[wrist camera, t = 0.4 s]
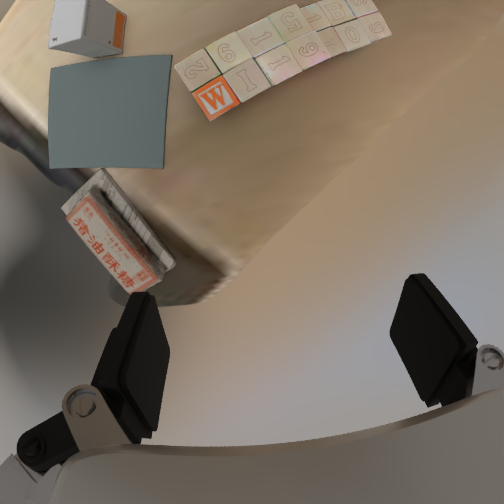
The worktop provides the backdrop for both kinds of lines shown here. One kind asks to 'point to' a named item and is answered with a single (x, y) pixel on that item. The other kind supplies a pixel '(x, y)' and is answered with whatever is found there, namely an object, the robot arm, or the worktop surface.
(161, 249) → the packaged product
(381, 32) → the stack of blocks
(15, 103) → the worktop surface
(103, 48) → the skincare box
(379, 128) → the worktop surface
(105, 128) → the mat
